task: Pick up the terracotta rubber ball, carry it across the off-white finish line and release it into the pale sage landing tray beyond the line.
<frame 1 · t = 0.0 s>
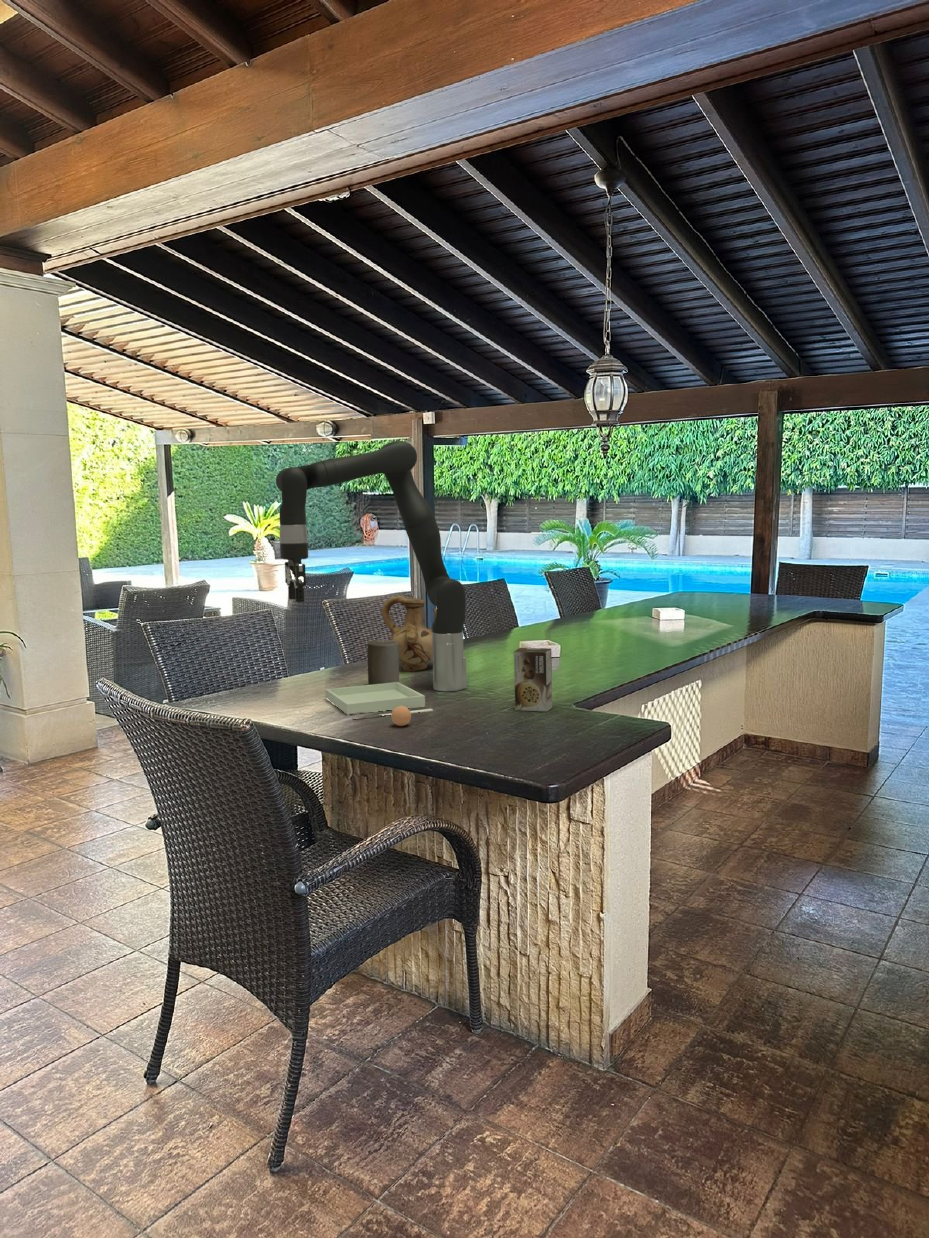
hand: (296, 600, 242), 29 cm above the table, fingers open, 8 cm apart
finish line: (393, 714, 232), on the table
ball: (401, 715, 220), point 2 cm above the table
ceramic vessel: (416, 669, 297), on the table
pillar candle: (384, 687, 269), on the table
coffee box: (533, 709, 236), on the table
landing tray: (374, 703, 246), on the table
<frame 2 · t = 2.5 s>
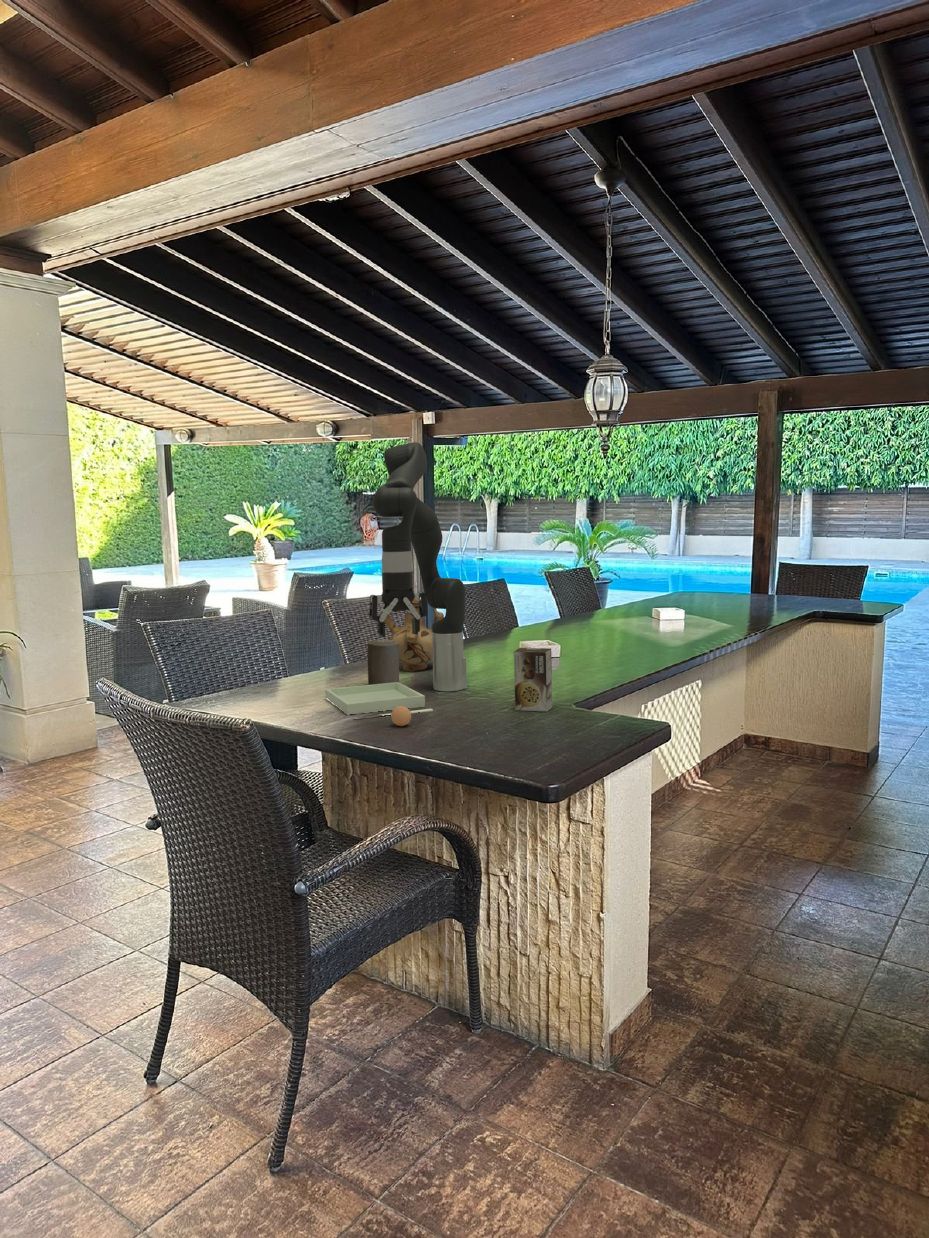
hand: (398, 635, 217), 23 cm above the table, fingers open, 8 cm apart
nothing on the table moved.
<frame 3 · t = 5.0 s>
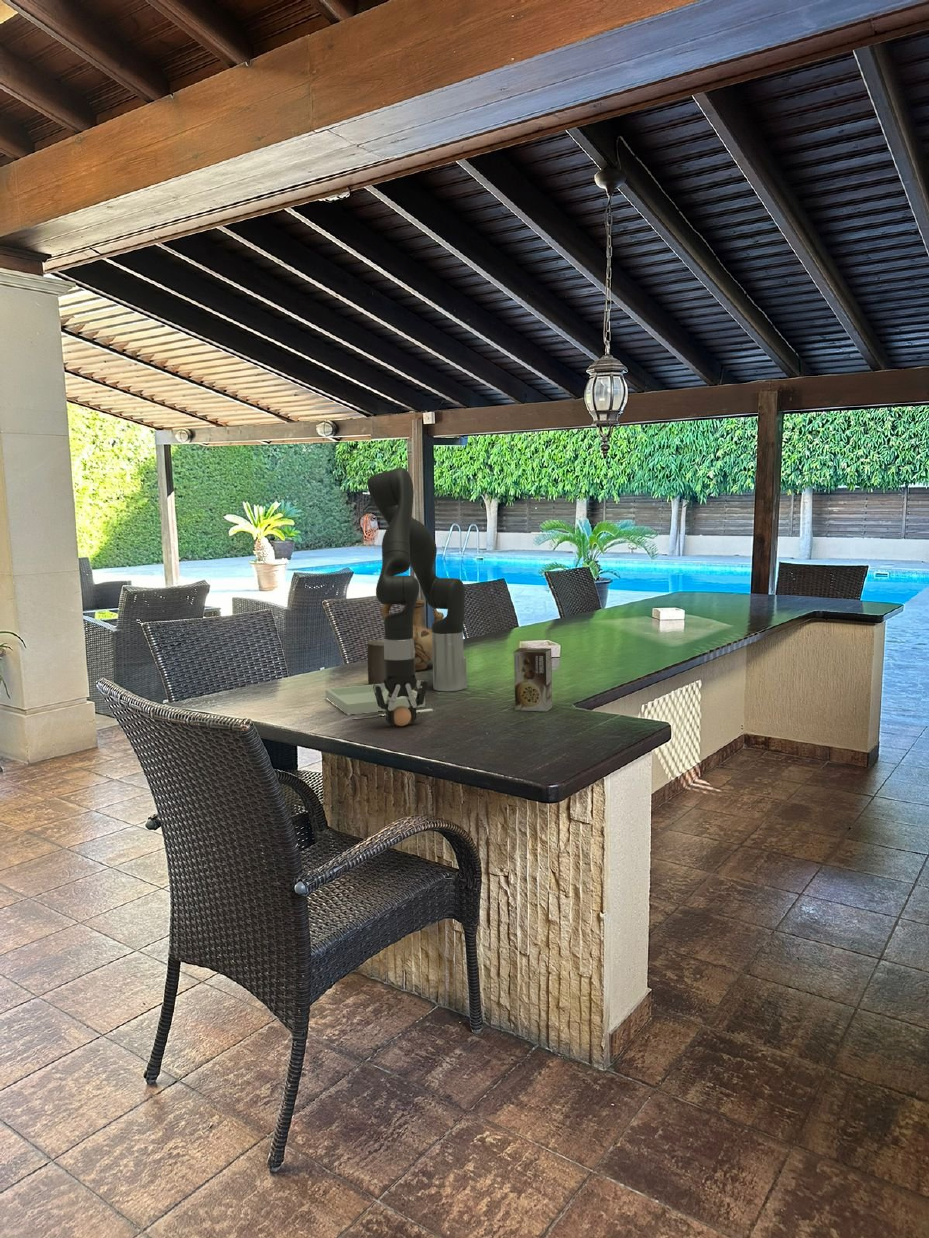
hand: (401, 722, 220), 1 cm above the table, fingers closed on ball, 5 cm apart
ball: (401, 715, 220), point 2 cm above the table, touching gripper
everything else where it was.
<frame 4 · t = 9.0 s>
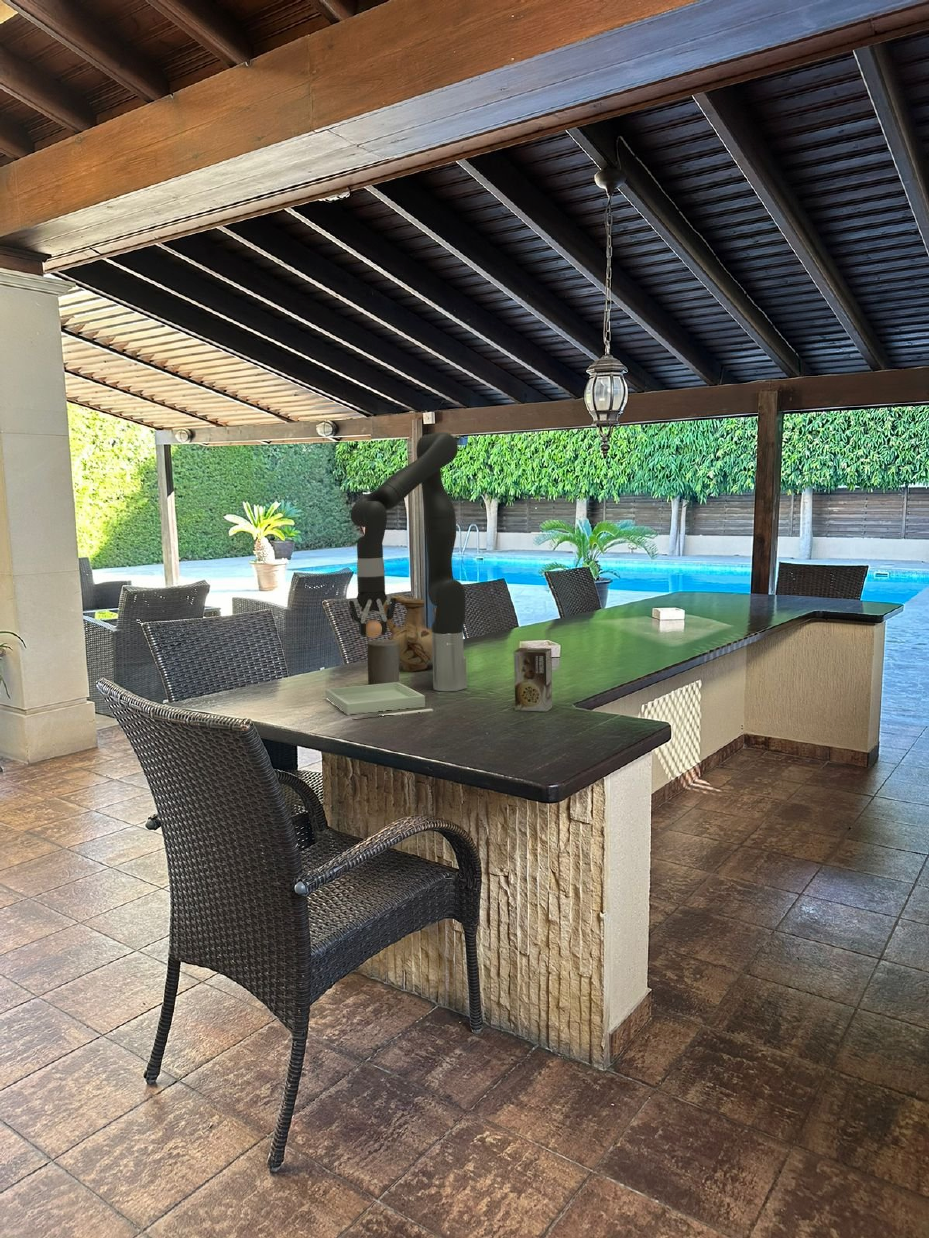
hand: (373, 635, 244), 19 cm above the table, fingers closed on ball, 5 cm apart
ball: (373, 629, 243), point 21 cm above the table, touching gripper
everything else where it was.
when the fingers open (2 cm above the table, at t = 13.2 s): ball stays where it is, resting on landing tray.
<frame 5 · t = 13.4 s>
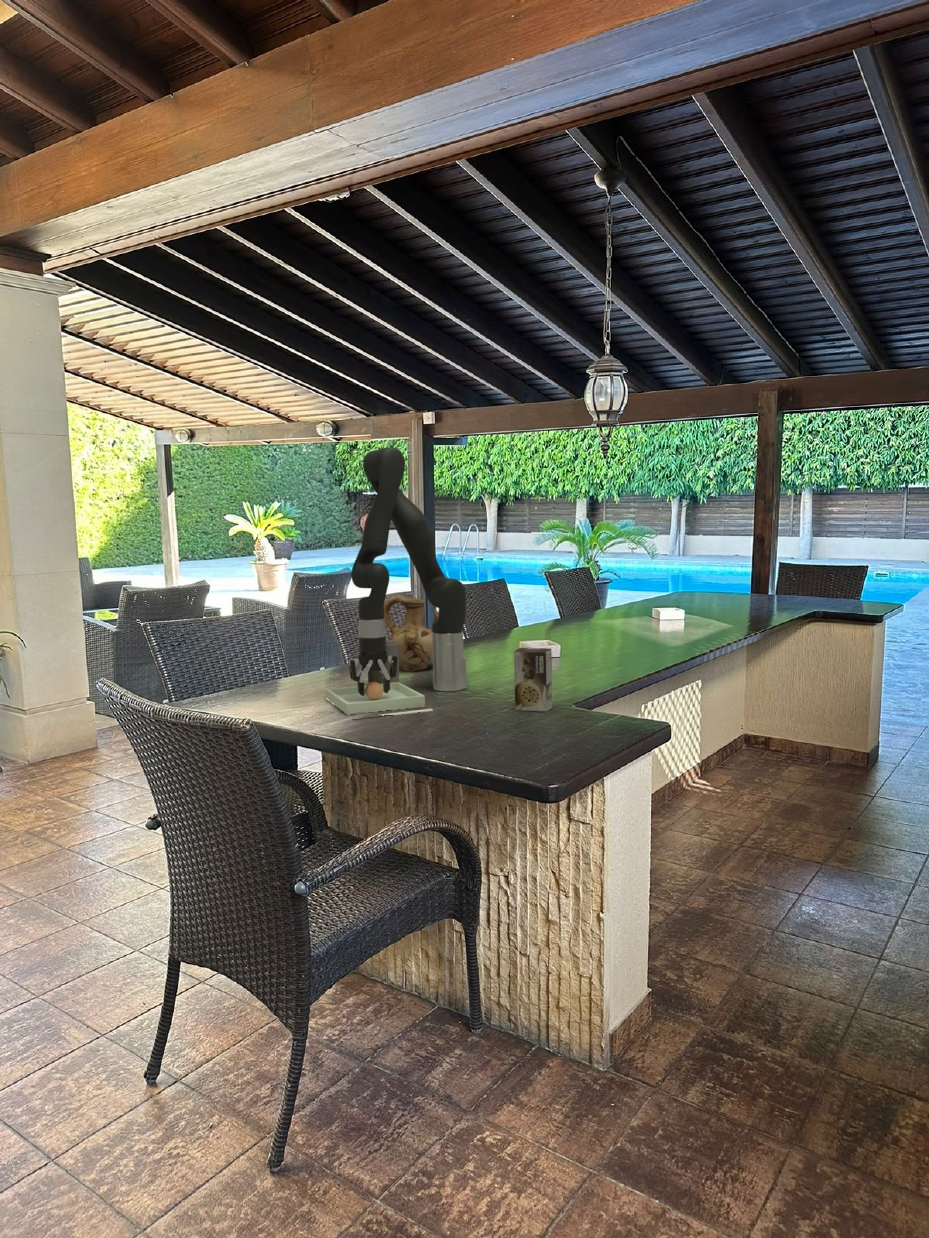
hand: (374, 693, 246), 3 cm above the table, fingers open, 6 cm apart
ball: (374, 690, 246), point 3 cm above the table, touching landing tray
everything else where it was.
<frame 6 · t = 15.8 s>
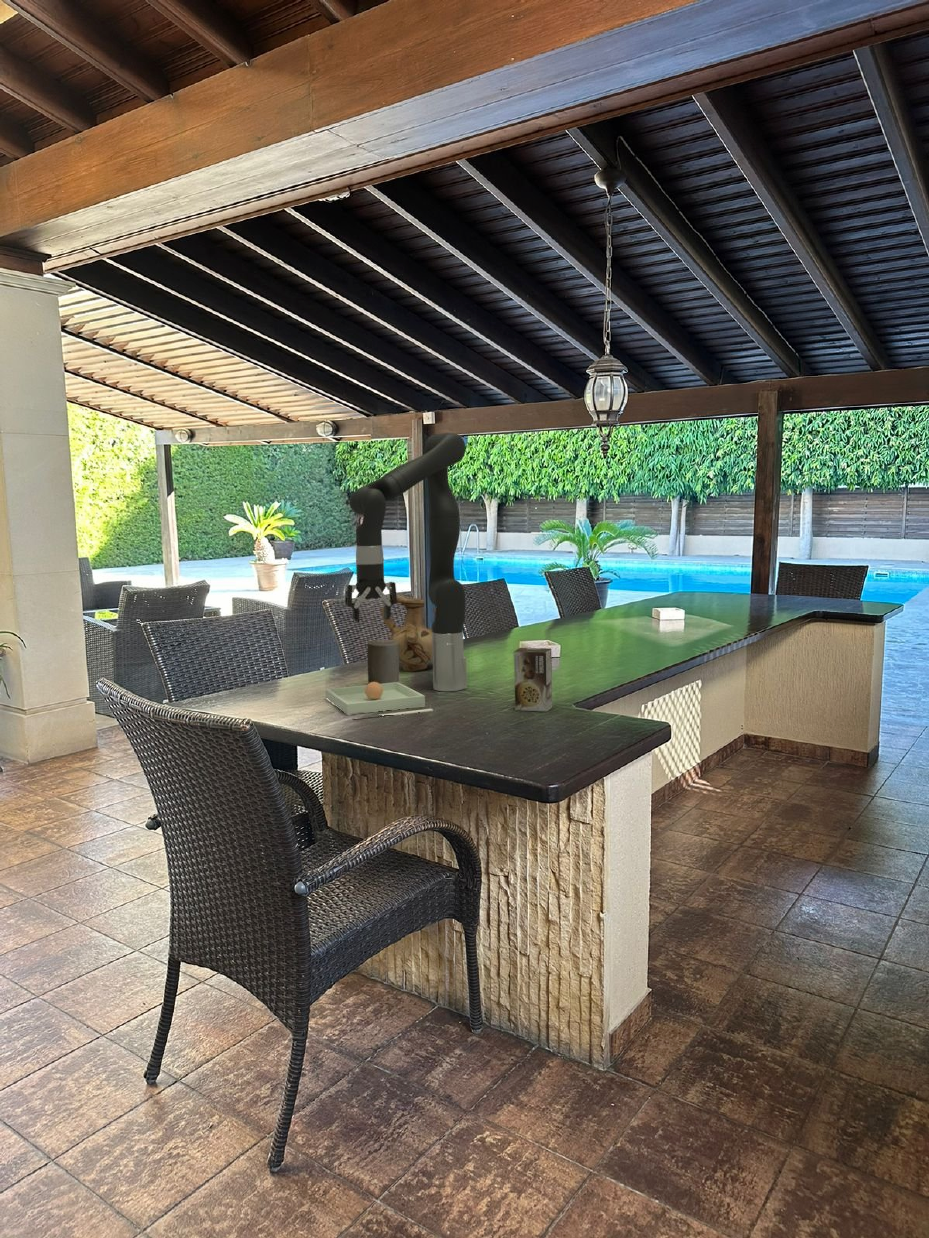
hand: (371, 620, 244), 23 cm above the table, fingers open, 8 cm apart
nothing on the table moved.
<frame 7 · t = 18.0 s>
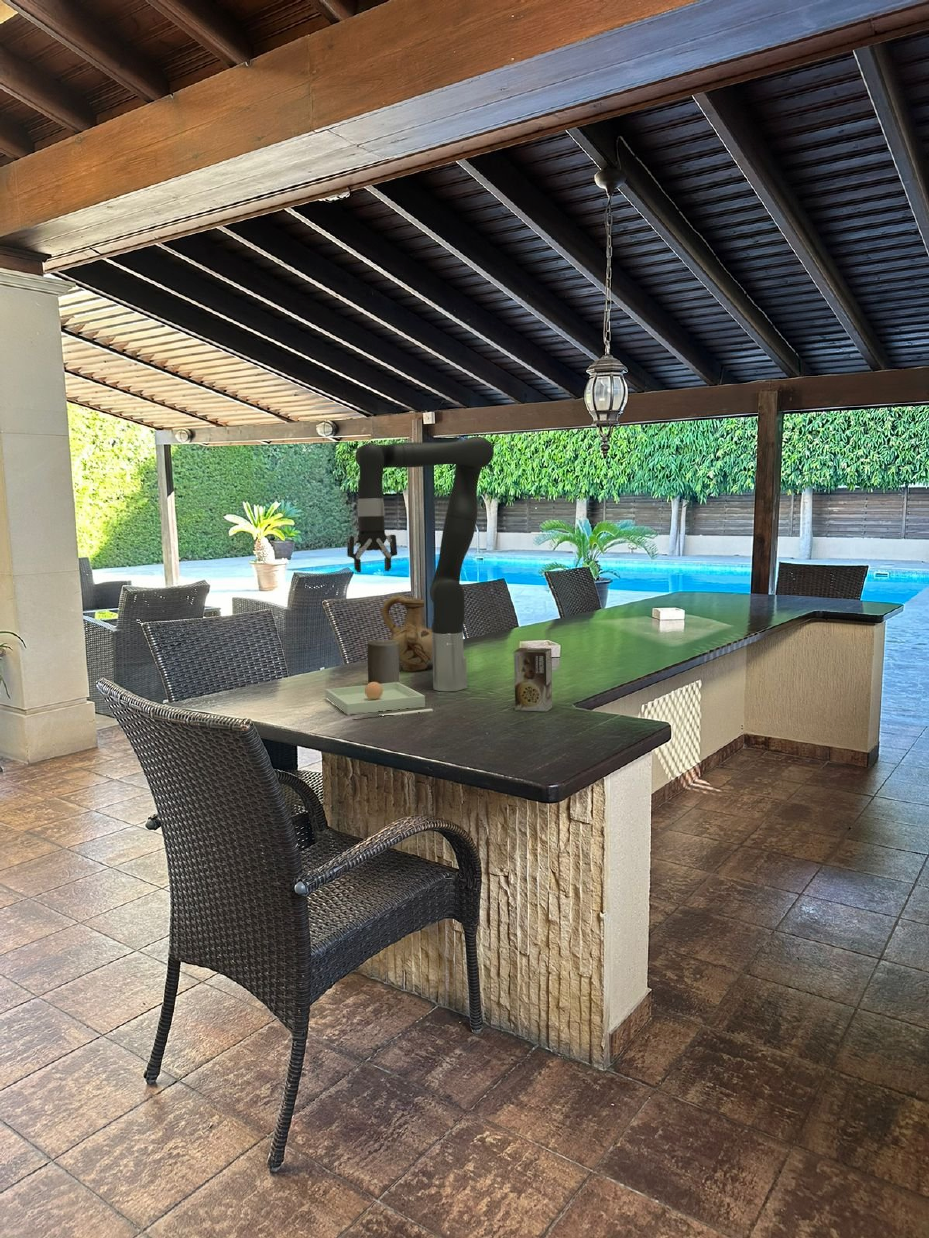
hand: (372, 571, 252), 36 cm above the table, fingers open, 8 cm apart
nothing on the table moved.
at the end: ball inside the target area on the landing tray (0.0 cm from its centre), point 3.5 cm above the landing tray's base; the gripper is holding nothing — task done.
